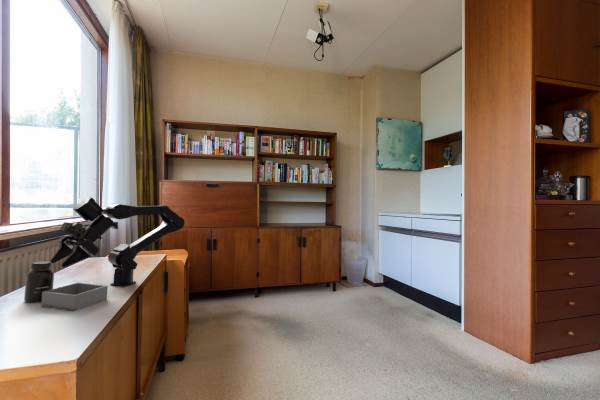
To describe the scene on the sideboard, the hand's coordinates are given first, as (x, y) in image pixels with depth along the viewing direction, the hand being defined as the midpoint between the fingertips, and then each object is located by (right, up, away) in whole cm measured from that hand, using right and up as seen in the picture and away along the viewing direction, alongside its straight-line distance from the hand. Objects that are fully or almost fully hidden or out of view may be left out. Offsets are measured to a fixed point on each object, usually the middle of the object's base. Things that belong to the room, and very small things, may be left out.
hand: (56, 264), depth 99 cm
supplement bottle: (-3, -11, -4) cm, 12 cm away
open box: (+10, -11, -5) cm, 16 cm away
